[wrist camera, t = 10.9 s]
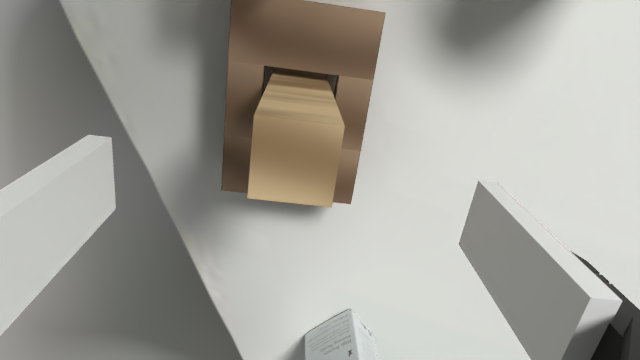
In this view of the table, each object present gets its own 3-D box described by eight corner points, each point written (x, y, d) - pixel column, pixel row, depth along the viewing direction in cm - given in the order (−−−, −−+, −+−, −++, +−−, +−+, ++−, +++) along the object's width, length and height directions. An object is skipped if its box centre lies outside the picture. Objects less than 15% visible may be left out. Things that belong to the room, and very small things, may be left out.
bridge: (241, -8, 31) (231, -11, 27) (374, 11, 32) (385, 12, 28) (230, 169, 36) (221, 190, 32) (345, 181, 37) (350, 203, 33)
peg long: (275, 66, 33) (253, 115, 18) (325, 73, 33) (344, 126, 19) (270, 116, 34) (247, 198, 20) (318, 122, 35) (331, 207, 20)
